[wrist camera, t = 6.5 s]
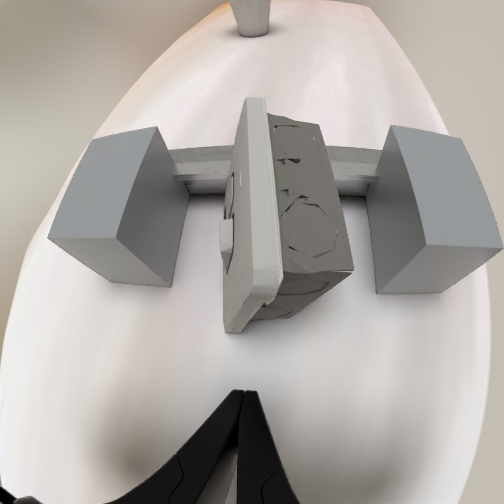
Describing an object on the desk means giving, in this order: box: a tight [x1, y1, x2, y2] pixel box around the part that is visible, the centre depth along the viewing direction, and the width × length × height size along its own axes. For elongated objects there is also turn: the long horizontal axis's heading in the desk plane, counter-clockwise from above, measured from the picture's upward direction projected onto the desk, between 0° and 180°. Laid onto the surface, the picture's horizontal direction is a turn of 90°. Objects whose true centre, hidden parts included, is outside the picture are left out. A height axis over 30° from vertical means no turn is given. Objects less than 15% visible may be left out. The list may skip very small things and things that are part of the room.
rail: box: [168, 145, 382, 196], centre depth 18 cm, size 2×24×4 cm, turn 86°
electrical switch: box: [220, 97, 354, 333], centre depth 14 cm, size 9×5×9 cm, turn 2°
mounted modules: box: [47, 125, 504, 294], centre depth 15 cm, size 7×23×7 cm, turn 86°
